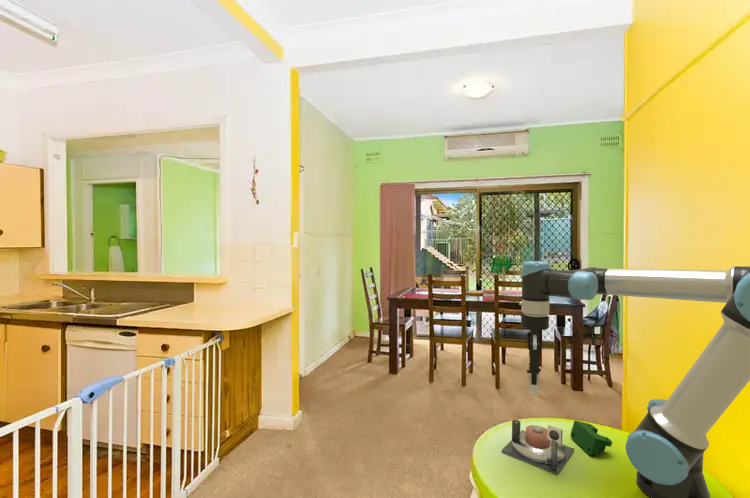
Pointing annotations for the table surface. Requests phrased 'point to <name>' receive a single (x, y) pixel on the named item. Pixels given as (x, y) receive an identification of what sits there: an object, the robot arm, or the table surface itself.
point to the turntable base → (540, 465)
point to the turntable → (532, 452)
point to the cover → (537, 437)
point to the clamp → (589, 438)
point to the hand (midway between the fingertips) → (533, 394)
